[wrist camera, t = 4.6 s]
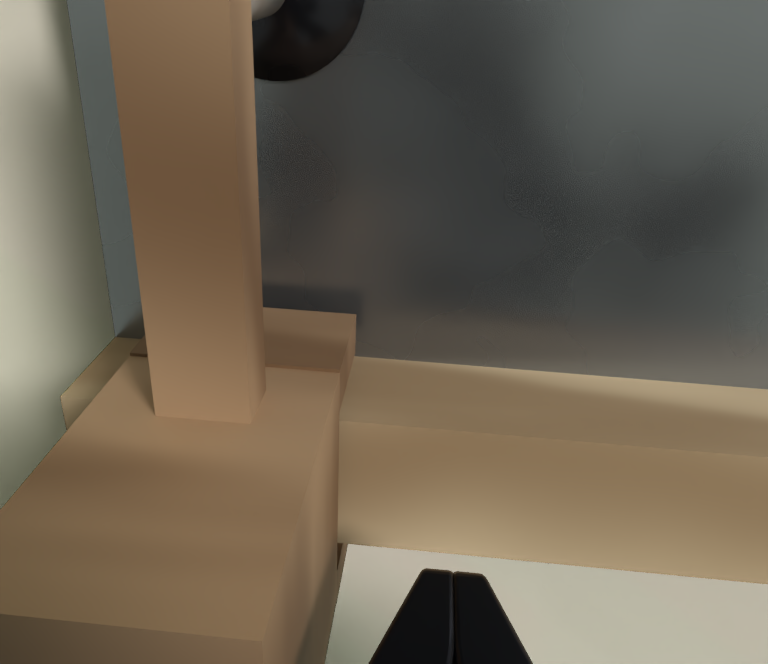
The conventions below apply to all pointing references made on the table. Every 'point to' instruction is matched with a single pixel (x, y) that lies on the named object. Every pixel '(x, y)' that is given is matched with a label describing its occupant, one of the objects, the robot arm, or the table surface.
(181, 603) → the slider leg
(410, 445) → the compass bar
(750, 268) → the steel plate
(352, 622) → the table surface
